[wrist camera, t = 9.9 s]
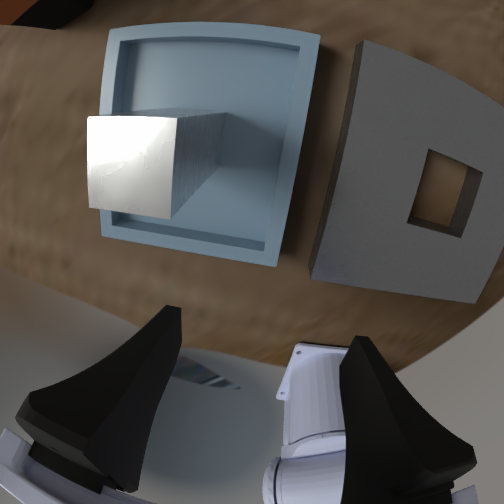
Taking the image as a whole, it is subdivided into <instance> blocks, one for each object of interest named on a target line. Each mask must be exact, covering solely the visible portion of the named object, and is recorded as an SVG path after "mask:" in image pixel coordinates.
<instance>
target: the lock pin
mask: <svg viewBox="0 0 504 504" xmlns="http://www.w3.org/2000/svg"><path fill="white" fill-rule="evenodd" d="M225 119H226V112H221V111H211V110H199V109H185V108H160V109H147V110H137V111H127V112H119V113H111V114H104V115H98V116H92V117H88V133H87V172H88V195H89V207H90V208H97V209H104V210H111V211H117V212H124V213H130V214H137V215H143V216H150V217H156V218H163V219H169V220H171V219H172V217H173V216H174V215H175V214H176V213H177V212H178V211H179V210H180V208H181V207H182V206H183V205H184V204H185V203H186V202H187V201H188V200H189V199H190V197H191V196H192V195H193V194H194V193H195V192H196V191H197V190H198V189H199V188H200V187H201V186H202V185H203V183H204V182H205V181H206V180H207V179H208V178H209V177H210V176H211V175H212V174H213V173H214V172H215V171H216V170H217V169H218V168H219V166H220V157H221V149H222V142H223V134H224V127H225Z"/></svg>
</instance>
